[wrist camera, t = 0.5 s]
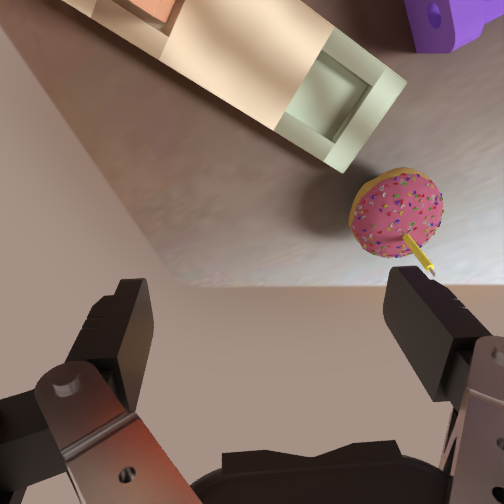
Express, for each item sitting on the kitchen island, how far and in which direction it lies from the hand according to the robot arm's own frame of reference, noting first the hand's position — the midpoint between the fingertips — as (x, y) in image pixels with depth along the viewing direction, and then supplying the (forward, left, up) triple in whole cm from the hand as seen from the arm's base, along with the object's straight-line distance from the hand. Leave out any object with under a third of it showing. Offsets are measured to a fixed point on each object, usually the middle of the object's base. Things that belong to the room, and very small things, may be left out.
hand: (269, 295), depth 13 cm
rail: (-7, -3, -26) cm, 27 cm away
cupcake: (-2, +16, -26) cm, 30 cm away
